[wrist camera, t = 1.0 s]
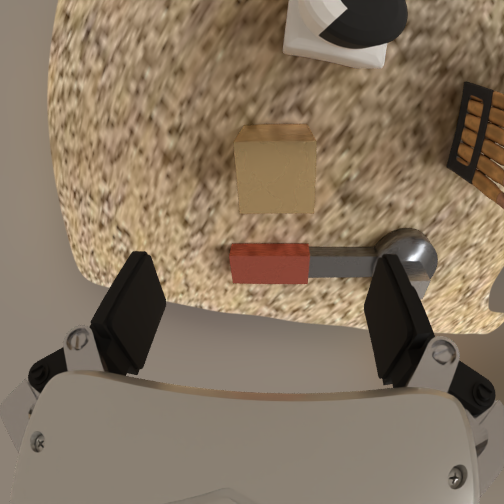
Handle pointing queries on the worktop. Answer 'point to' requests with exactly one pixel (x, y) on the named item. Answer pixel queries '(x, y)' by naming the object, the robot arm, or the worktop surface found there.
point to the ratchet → (333, 260)
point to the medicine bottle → (344, 30)
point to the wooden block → (275, 168)
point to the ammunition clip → (480, 140)
